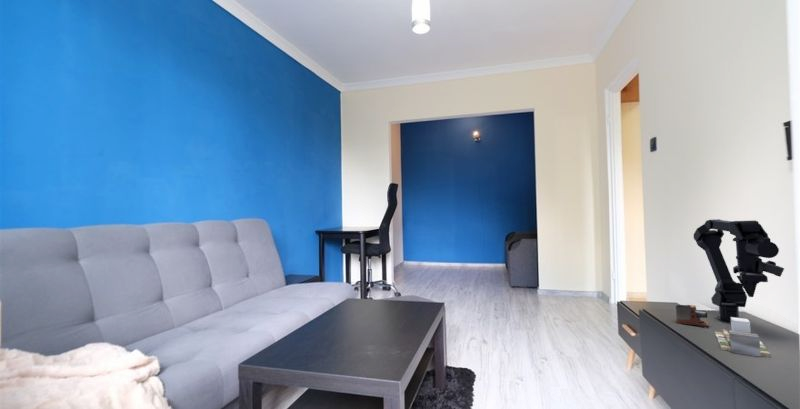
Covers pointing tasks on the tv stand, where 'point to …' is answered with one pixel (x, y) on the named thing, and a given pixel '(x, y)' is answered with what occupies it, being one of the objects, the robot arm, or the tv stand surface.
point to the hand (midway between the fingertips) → (750, 296)
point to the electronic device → (690, 315)
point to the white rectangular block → (739, 325)
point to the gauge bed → (742, 343)
